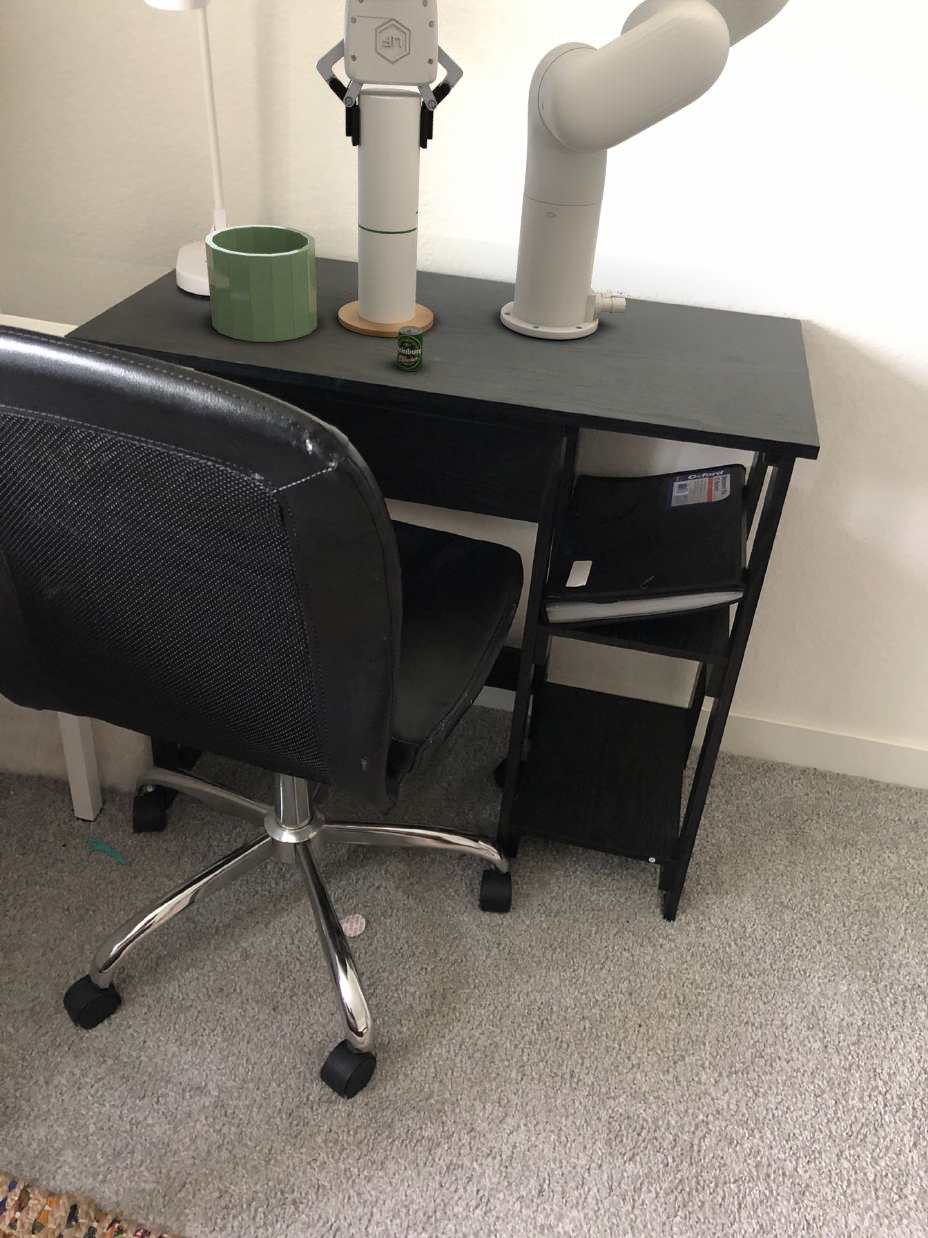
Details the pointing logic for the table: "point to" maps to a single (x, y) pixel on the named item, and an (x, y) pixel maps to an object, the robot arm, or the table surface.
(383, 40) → the robot arm
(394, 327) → the coaster
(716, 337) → the table surface
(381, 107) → the cylindrical container
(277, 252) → the crock
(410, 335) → the beer can
